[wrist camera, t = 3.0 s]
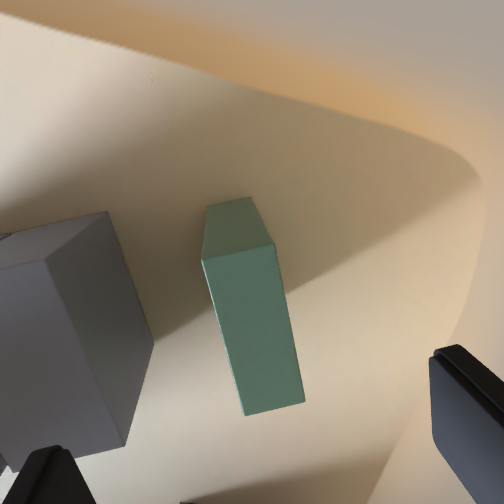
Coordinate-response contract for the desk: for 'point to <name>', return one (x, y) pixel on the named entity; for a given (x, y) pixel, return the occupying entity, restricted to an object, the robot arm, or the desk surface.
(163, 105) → the desk surface
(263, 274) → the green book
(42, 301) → the grey blocks
